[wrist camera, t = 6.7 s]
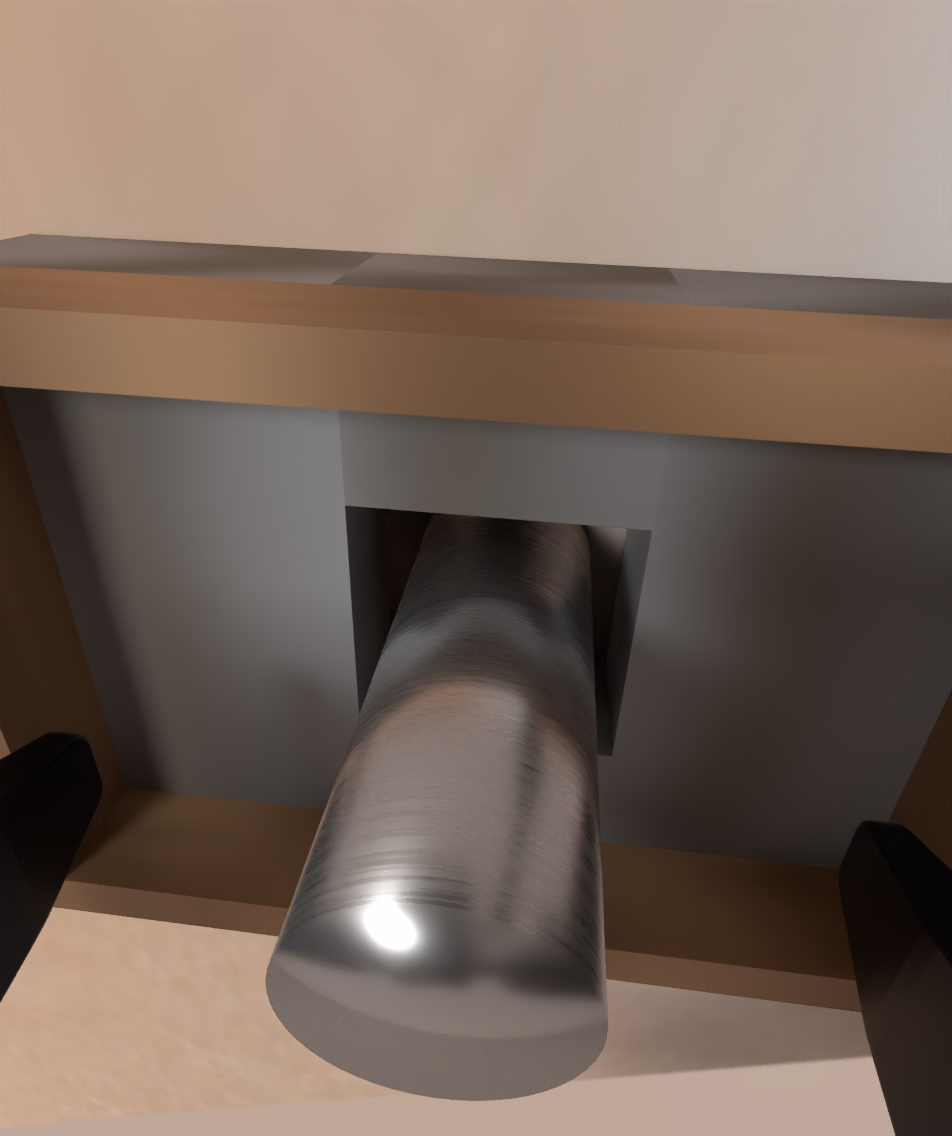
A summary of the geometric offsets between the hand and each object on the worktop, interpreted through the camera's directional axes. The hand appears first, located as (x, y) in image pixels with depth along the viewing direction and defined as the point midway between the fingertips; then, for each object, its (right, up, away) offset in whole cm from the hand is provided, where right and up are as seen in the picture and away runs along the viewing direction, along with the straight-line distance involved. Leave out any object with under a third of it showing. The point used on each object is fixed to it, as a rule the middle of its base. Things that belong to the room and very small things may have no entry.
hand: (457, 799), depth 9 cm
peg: (+1, +3, +5) cm, 6 cm away
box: (+1, +3, +5) cm, 6 cm away
